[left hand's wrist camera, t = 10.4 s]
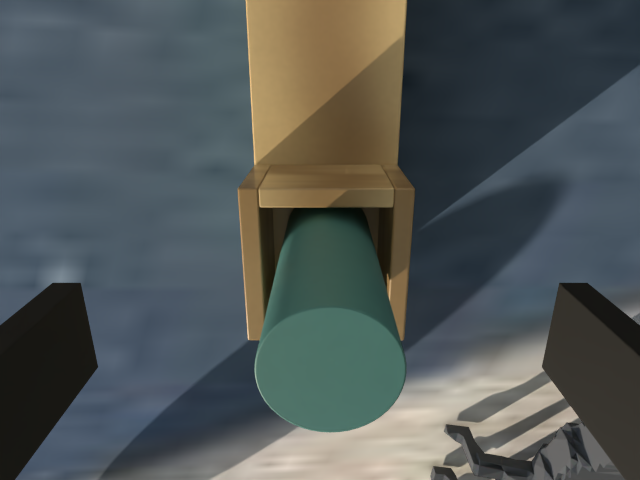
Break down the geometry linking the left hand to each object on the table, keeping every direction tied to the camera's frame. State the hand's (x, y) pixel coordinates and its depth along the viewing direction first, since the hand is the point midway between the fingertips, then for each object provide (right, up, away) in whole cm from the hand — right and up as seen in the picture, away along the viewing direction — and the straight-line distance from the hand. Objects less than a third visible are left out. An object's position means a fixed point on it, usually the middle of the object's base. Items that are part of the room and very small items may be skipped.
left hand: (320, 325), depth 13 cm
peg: (0, +3, +7) cm, 8 cm away
